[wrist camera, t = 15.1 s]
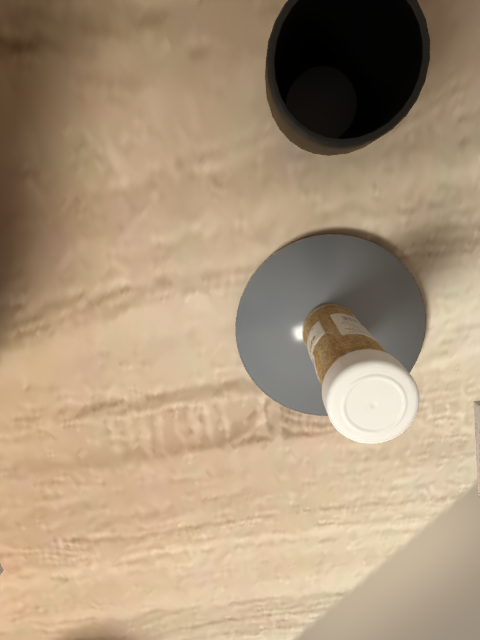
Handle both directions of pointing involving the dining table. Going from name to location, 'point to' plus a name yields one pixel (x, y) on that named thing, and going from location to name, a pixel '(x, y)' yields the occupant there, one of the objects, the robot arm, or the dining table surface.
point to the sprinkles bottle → (358, 377)
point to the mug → (345, 70)
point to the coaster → (316, 290)
